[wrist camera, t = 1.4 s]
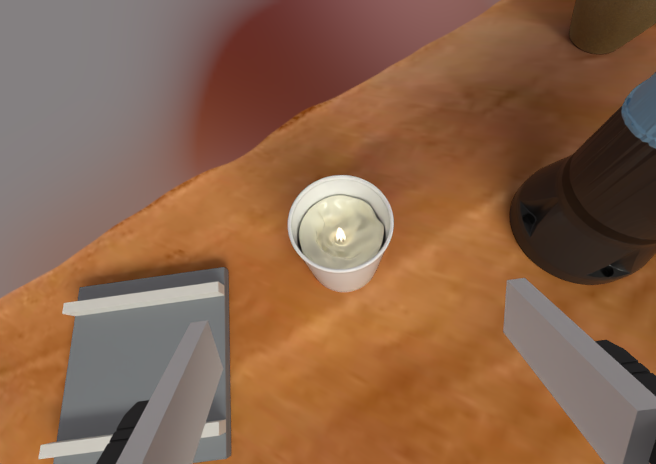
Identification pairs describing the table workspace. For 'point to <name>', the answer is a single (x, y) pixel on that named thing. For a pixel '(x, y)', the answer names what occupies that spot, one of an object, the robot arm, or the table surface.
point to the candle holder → (341, 230)
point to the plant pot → (609, 23)
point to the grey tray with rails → (138, 358)
